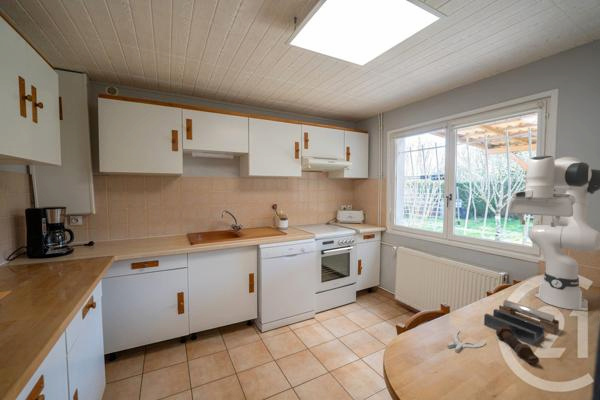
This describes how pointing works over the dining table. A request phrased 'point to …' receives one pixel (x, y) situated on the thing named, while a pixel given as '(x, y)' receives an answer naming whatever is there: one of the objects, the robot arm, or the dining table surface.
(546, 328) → the beam
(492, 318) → the v block
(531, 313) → the axle
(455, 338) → the pliers
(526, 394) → the dining table surface
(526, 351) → the bolt
